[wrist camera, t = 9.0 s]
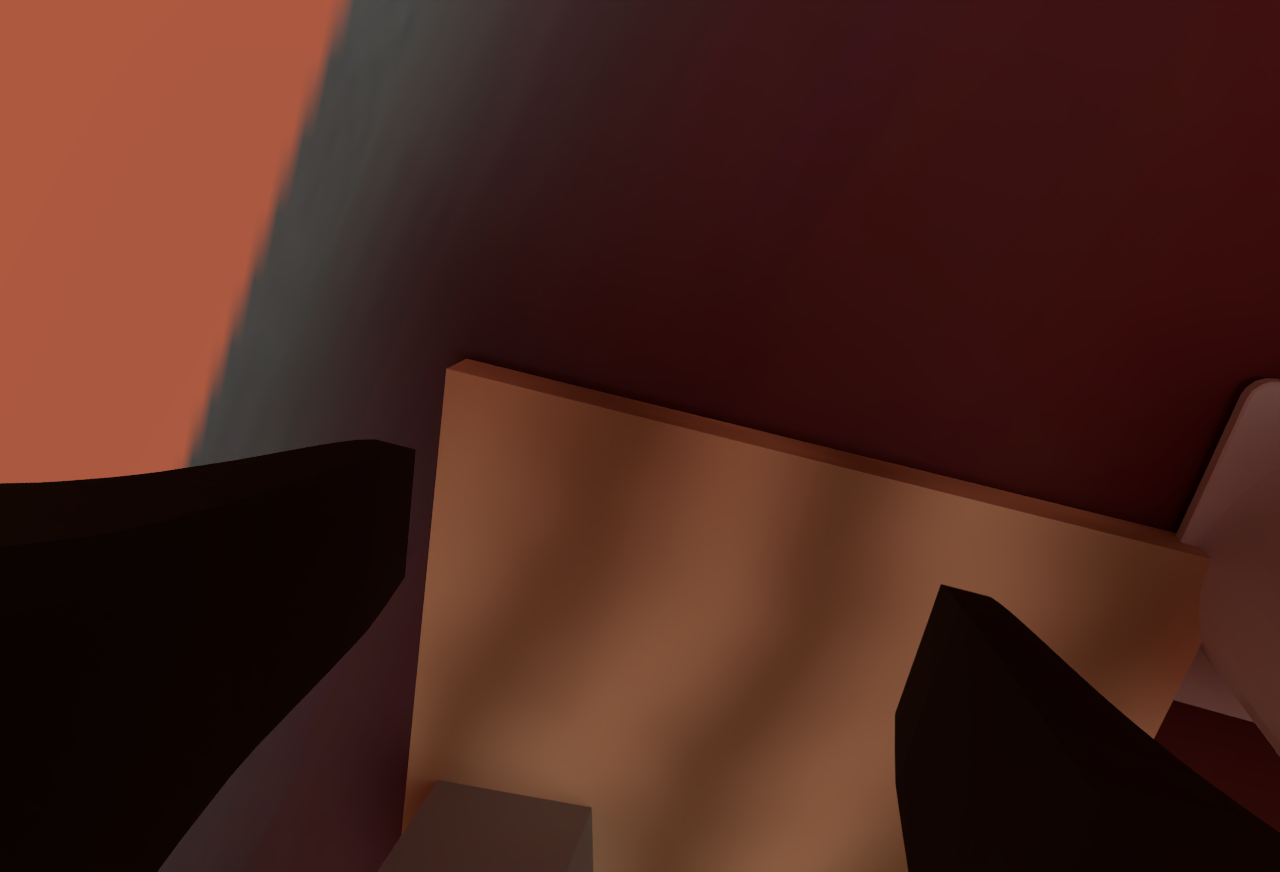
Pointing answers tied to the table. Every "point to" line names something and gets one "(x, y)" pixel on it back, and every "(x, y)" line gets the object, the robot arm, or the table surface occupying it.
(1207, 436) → the table surface
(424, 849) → the slate carton
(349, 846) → the table surface
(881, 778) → the shelf board
